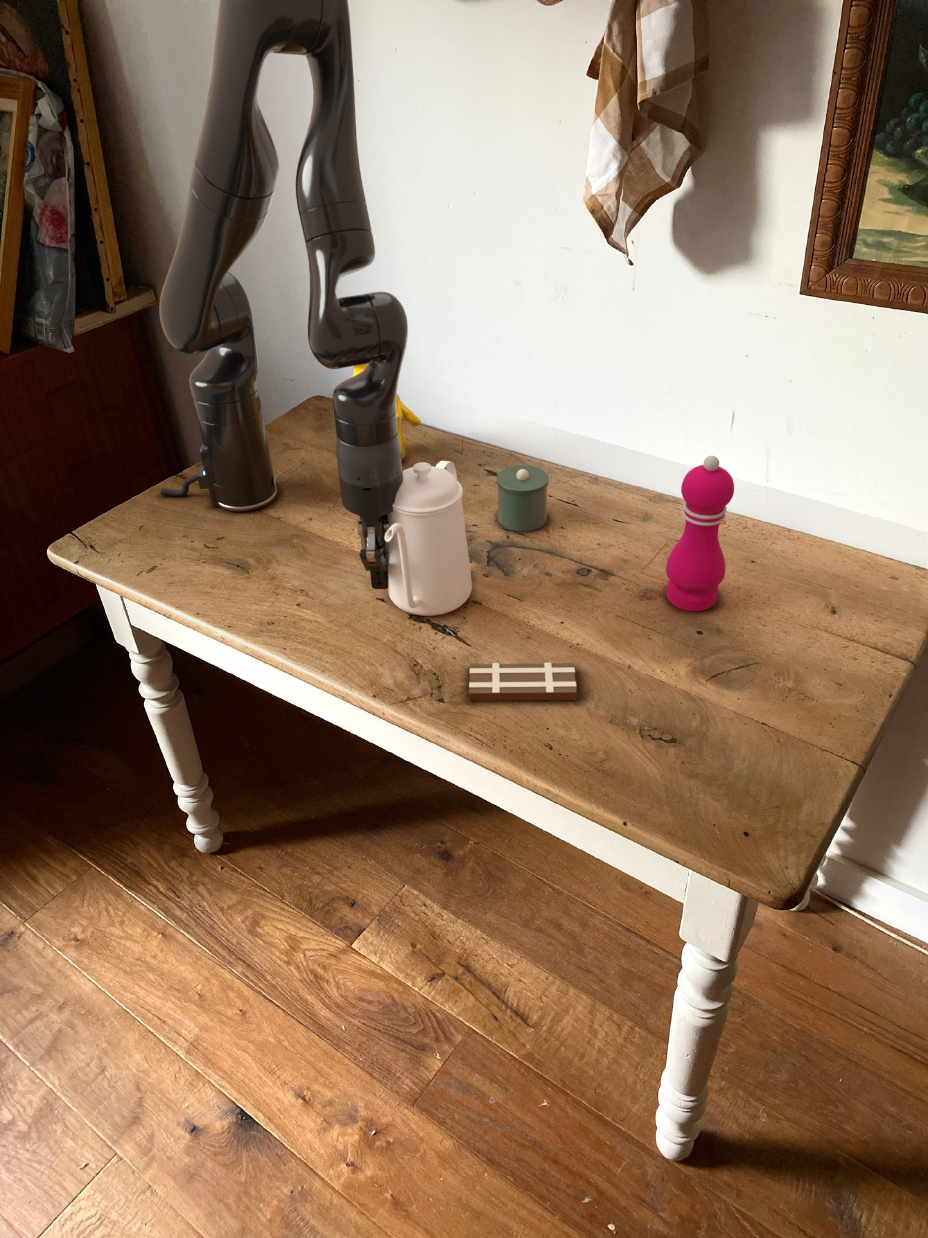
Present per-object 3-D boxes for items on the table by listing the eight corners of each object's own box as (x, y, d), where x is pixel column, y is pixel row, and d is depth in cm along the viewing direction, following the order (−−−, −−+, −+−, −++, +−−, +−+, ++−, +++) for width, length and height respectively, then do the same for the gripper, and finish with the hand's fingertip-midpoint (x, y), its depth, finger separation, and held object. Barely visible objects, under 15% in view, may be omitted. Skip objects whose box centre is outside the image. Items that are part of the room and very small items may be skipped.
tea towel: (469, 701, 103) (469, 692, 102) (470, 671, 107) (469, 663, 106) (576, 700, 102) (577, 691, 101) (573, 670, 106) (573, 662, 105)
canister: (496, 532, 130) (496, 483, 125) (496, 505, 136) (496, 457, 131) (549, 532, 130) (550, 482, 125) (546, 505, 136) (547, 456, 131)
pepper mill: (723, 585, 118) (748, 446, 106) (716, 618, 113) (741, 475, 101) (667, 576, 120) (685, 438, 108) (658, 608, 115) (675, 467, 103)
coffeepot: (355, 650, 110) (337, 516, 99) (418, 539, 129) (409, 416, 118) (442, 663, 108) (433, 528, 96) (493, 548, 127) (491, 424, 115)
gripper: (345, 440, 112) (357, 556, 123) (330, 496, 102) (345, 617, 113) (406, 440, 112) (413, 556, 123) (397, 496, 102) (406, 618, 113)
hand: (380, 585), depth 118 cm, fingers closed
